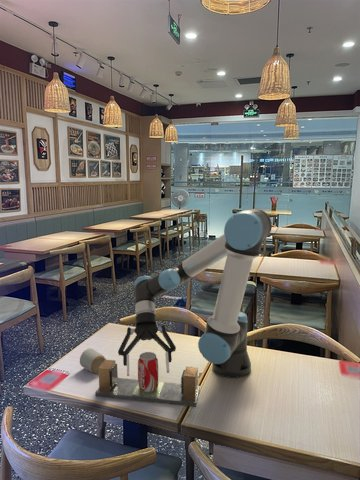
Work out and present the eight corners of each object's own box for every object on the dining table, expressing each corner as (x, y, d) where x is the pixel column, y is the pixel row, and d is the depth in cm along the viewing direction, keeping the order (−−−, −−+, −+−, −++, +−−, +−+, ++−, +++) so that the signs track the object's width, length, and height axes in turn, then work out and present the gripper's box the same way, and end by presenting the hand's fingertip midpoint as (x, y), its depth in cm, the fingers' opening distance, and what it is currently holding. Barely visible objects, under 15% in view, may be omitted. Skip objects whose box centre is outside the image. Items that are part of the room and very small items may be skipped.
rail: (199, 389, 125) (199, 364, 123) (195, 407, 115) (195, 380, 114) (106, 380, 131) (105, 356, 130) (95, 396, 122) (94, 370, 120)
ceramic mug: (92, 377, 134) (91, 358, 132) (79, 370, 139) (78, 351, 138) (114, 366, 142) (113, 348, 140) (101, 360, 147) (100, 342, 146)
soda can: (157, 393, 119) (157, 360, 118) (137, 393, 120) (136, 360, 118) (159, 382, 126) (158, 351, 125) (139, 382, 127) (138, 351, 125)
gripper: (177, 317, 136) (183, 373, 124) (112, 321, 133) (111, 379, 121) (179, 309, 130) (185, 367, 118) (111, 313, 127) (110, 373, 115)
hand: (148, 373), depth 120 cm, fingers open, 13 cm apart
